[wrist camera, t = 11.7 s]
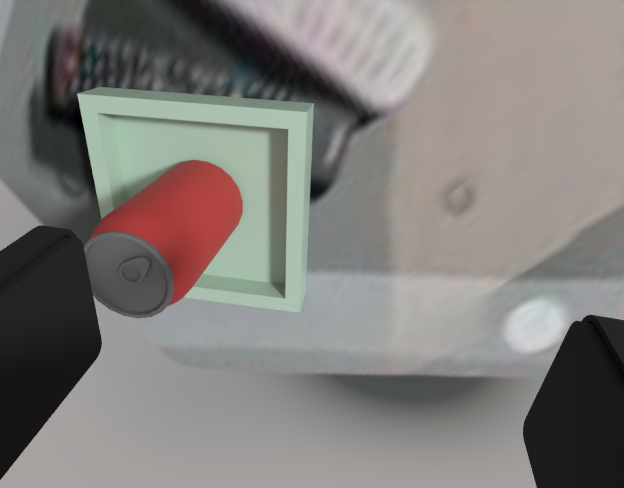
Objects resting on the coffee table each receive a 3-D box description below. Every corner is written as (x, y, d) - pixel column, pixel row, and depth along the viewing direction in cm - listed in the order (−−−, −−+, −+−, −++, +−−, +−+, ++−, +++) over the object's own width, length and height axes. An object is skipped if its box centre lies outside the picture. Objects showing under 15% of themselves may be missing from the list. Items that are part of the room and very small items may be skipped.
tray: (100, 86, 34) (77, 93, 32) (313, 103, 32) (306, 112, 30) (131, 271, 42) (115, 288, 39) (305, 293, 40) (299, 312, 37)
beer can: (262, 206, 36) (205, 292, 25) (206, 250, 38) (133, 343, 28) (203, 139, 34) (114, 200, 23) (148, 189, 37) (47, 265, 26)
